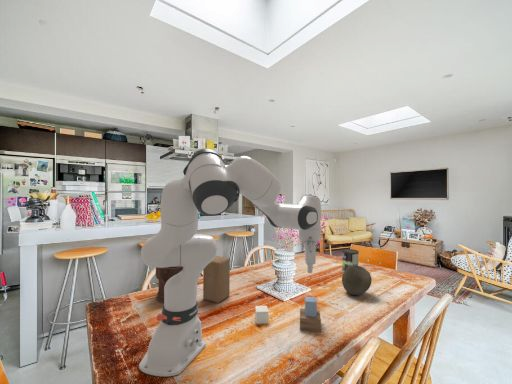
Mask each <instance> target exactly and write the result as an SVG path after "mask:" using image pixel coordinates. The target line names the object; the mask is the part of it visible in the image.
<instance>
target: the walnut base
mask: <svg viewBox="0 0 512 384" xmlns="http://www.w3.org/2000/svg"><path fill="white" fill-rule="evenodd" d="M321 318H322V317H321V312H320V309H317V317H308V316H305V308H301V307H300V308H299V331H304V332H313V333H322V331H321V330H322V327H321V326H322V319H321Z"/></svg>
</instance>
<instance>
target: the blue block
mask: <svg viewBox="0 0 512 384" xmlns="http://www.w3.org/2000/svg"><path fill="white" fill-rule="evenodd" d="M317 302H318V301H317V297H315V296H304V309H305V316H308V317H317V310H318V306H317V305H318V303H317Z"/></svg>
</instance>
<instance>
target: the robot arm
mask: <svg viewBox="0 0 512 384" xmlns="http://www.w3.org/2000/svg"><path fill="white" fill-rule="evenodd" d="M182 173H183V175H184V177H183V178H182V179H181V178H180V179H174V180H171V181H169V182H168V183H166V184H165V185H164V186H163V188H162V192H161V197H160V205H159V206H160V208H159V209H160V222H161V224H160V230H159V231H157V233H156V234H154V235H153V236H151V237H148V238H147V239H146V240H145V241H144V242H143V244H142V246H141V249H140V257H141V260H142V262H143V264H145V266H147V267H151V268H156V267H158V268H165V267H178V266H182V267H183V269H182V271H181V272H179V273H178V274H176V275H174V276H172V277H171V278H170V279H169V280H168V281H167V282H166V284H165V286H164V304H163V307H162V310H161V313H158V314H157V315H156V321H159V323H158V326H157V327H156V330H155V331H154V333H153V336H152V337H151V339H150V341H149V344H148V347H147V352H146V353H145V354H144V356H143V357H142V359H141V361H140V362H139V364H138V369H139V370H140V371H141V372H143V374H146V375H150V376H155V377H173V376H177V375H180V374H181V373H182V372H183V371H184V370H185V369H186V368H187V367H188V365H189V364H190V363H191V362H192V361H193V360H194V359H195V358H196V357H197V356H198V355H199V354H200V353H201V352H202V351H203V350H204V348H206V345H207V343H206V341H205V340H204V339H203V333H202V332H203V331H202V321H201V319H200V318H199V316H198V312H199V304H198V299H197V295H198V283H199V278H200V277H201V274H202V273H203V269H204V268H205V267H206V266H207V265H208V264H209V263H210V262H212V261H213V260H214V258H215V256H217V253H218V243H217V241H216V240H215V237H213V236H212V235H208V234H203V233H202V234H201V233H197V231H198V229H199V228H198V227H199V213H200V214H202V215H205V216H209V217H210V216H211V217H212V216H219V215H221V214H223V213H225V212H227V211H228V210H229V209H230V208H231V207H232V206H233V205H234V203H236V202H237V201H238V200H239V197H240V195H242V196H243V197H245V198H246V199H247V200H249V201H250V203H251V204H252V205H253V206H254V207H255V208H256V209H258V211H260V212H261V214H263V215H264V216H265V217H266V218H267V220H268V222H269V223H270V225H271V226H272V227H273V228H279V229H280V228H283V229H290V230H298V239H299V240H301V244H303V247H304V256H305V258H304V259H305V260H304V261H305V262H304V263H305V264H306V265H307V273H308V274H312V273H313V268H314V265H316V262H317V261H316V260H317V259H316V257H317V255H316V251H317V250H316V247H317V246H316V245H318V244H319V241H321V240H322V225H321V219H322V204H321V199H320V198H319V197H318V196H316V195H311V194H304V195H301V196H300V200H299V202H297V203H285V202H284V203H282V202H276V201H278V198H279V196H280V194H281V182H280V181H279V179H278V178H277V176H276V175H275V174H274V173H272V172H271V171H270V170H269V169H268V168H267V167H266V166H264V165H263V164H262V163H261V162H259V161H257V160H256V159H254V158H253V157H250V156H248V155H240V156H238V157H236V158H234V159H233V160H232V161H231V162H230V163H229V164H225V162H224V159H223V158H222V156H221V155H220V154H219V153H218V152H217V151H216V150H214V149H211V148H201V149H199V150H196V151H195V152H194V153H193V154H192V156H191V157H190V159H189V161H188V163H187V165H186V166H185V167H184V169H183V170H182Z"/></svg>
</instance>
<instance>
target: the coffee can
mask: <svg viewBox="0 0 512 384" xmlns="http://www.w3.org/2000/svg"><path fill="white" fill-rule="evenodd" d="M359 254H360V251H359V250H357V249H353V248H343V249H342V269H341V271H342V272H343V273H344V271H345V270H346V269H347V268H348V267H349V266H353V265H358V266H359V258H360V257H359Z"/></svg>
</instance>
